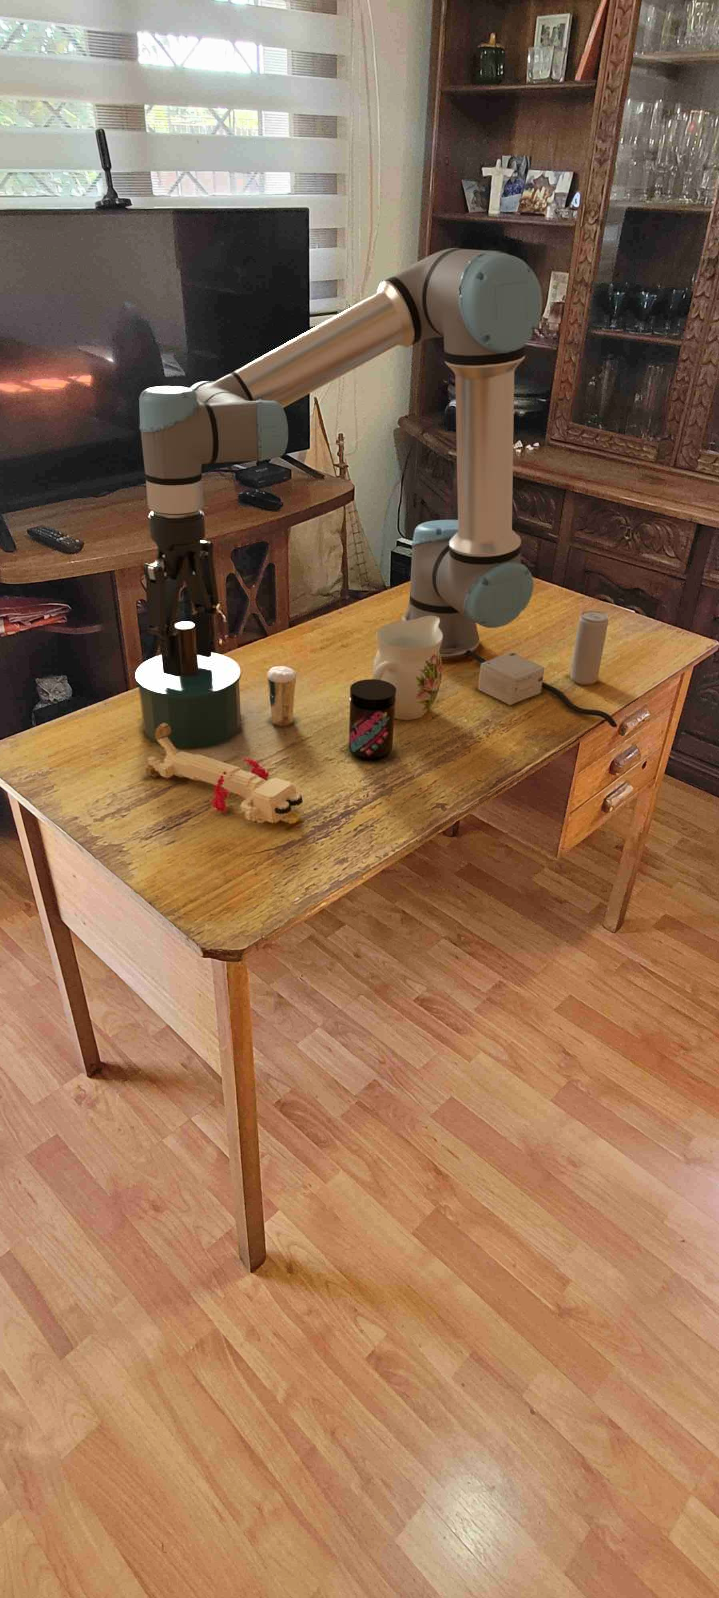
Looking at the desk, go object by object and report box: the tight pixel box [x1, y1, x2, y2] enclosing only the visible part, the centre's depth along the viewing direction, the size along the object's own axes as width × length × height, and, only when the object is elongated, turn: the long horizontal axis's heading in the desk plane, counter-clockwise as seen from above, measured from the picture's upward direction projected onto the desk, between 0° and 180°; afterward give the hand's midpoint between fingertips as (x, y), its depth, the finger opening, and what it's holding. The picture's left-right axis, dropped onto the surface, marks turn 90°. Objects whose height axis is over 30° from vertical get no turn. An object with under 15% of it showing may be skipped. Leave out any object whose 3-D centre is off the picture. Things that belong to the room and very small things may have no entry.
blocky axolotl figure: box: [145, 723, 305, 825], centre depth 126 cm, size 10×9×25 cm
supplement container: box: [348, 678, 396, 762], centre depth 137 cm, size 7×7×10 cm
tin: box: [138, 680, 242, 749], centre depth 143 cm, size 15×15×8 cm
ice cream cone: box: [266, 665, 302, 727], centre depth 144 cm, size 5×5×10 cm
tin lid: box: [134, 621, 242, 699], centre depth 138 cm, size 16×16×9 cm
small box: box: [477, 652, 545, 706], centre depth 157 cm, size 8×8×5 cm
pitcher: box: [371, 616, 443, 721], centre depth 147 cm, size 11×18×14 cm, turn 146°
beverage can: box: [569, 610, 609, 686], centre depth 160 cm, size 5×5×12 cm
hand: (187, 664), depth 139 cm, fingers open, 7 cm apart
